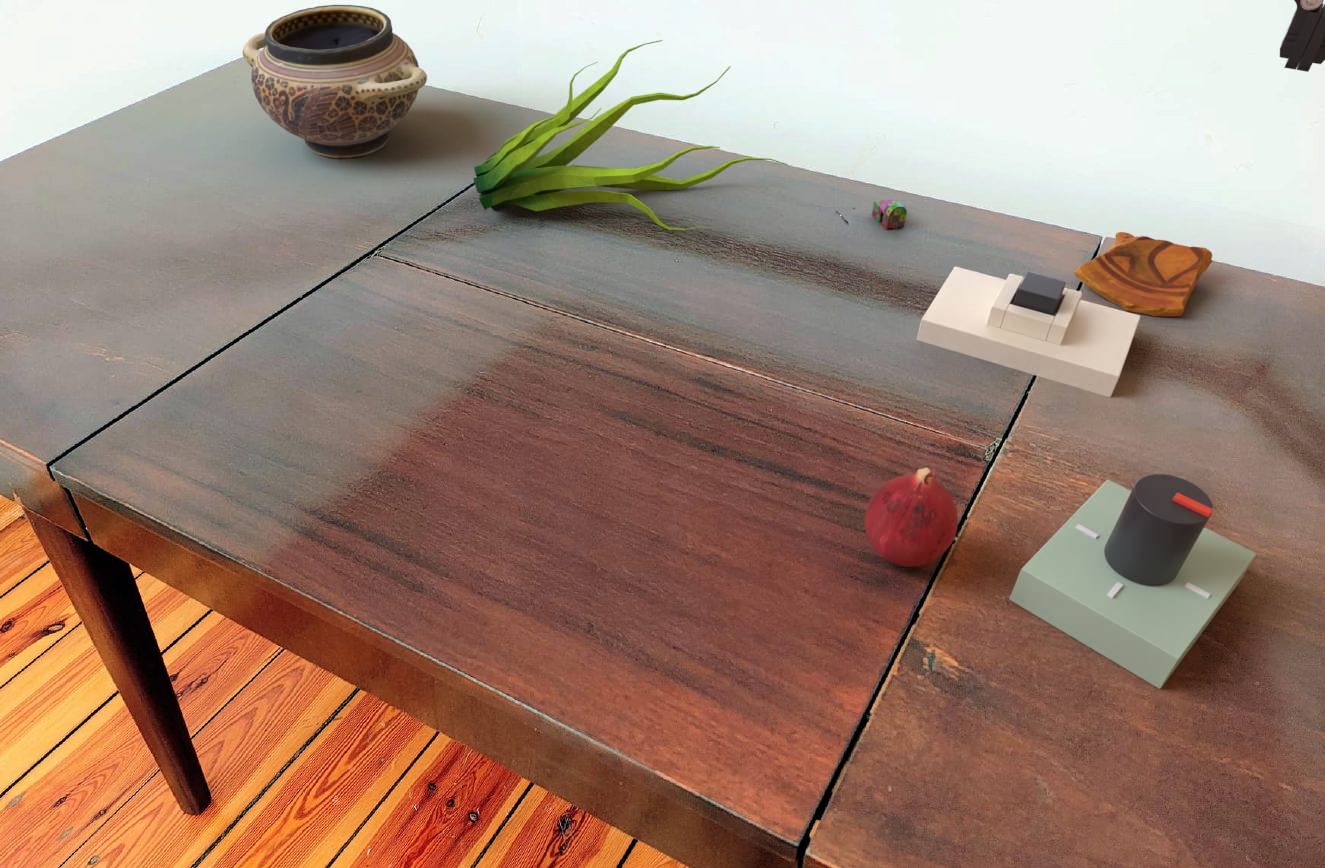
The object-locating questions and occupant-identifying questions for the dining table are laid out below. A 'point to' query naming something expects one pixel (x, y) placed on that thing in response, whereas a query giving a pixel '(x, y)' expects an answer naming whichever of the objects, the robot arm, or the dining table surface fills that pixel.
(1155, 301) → the pottery fragment
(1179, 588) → the panel
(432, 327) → the dining table surface
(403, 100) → the ceramic bowl
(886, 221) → the multicoloured toy piece
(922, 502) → the pomegranate
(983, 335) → the stepped cream pedestal
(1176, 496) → the volume knob
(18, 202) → the dining table surface
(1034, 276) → the dark grey square block
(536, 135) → the decorative plant
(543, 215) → the dining table surface
